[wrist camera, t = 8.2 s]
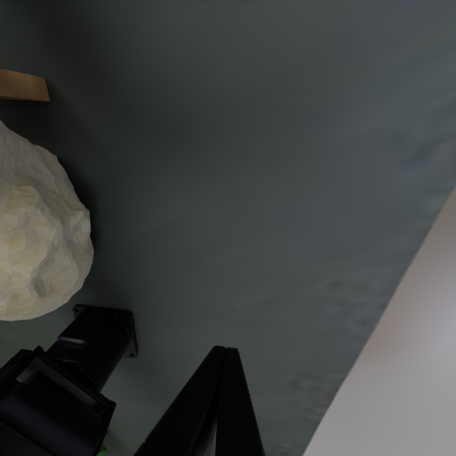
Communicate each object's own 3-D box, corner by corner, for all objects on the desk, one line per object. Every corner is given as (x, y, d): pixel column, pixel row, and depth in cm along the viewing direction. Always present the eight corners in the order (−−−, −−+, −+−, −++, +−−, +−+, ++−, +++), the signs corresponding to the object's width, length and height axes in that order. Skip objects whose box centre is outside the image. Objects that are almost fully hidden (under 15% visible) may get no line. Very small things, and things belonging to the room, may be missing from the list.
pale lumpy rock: (100, 283, 27) (132, 307, 15) (14, 310, 23) (-40, 375, 10) (64, 148, 26) (68, 54, 14) (-30, 150, 22) (-144, 18, 10)
